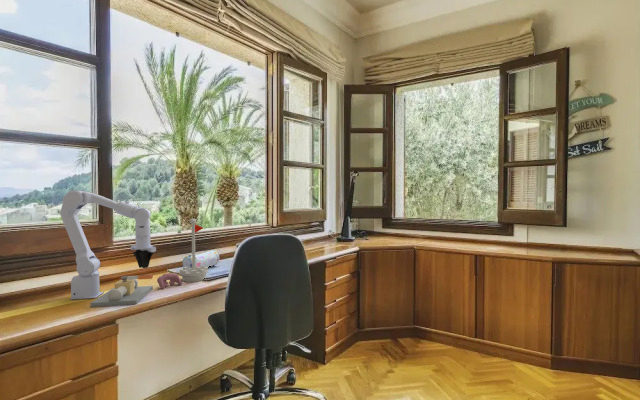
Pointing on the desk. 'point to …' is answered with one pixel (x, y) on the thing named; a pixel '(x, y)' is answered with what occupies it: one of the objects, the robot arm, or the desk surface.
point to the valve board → (124, 299)
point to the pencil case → (202, 259)
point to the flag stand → (194, 272)
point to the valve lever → (138, 277)
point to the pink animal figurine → (169, 276)
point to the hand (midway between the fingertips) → (143, 267)
